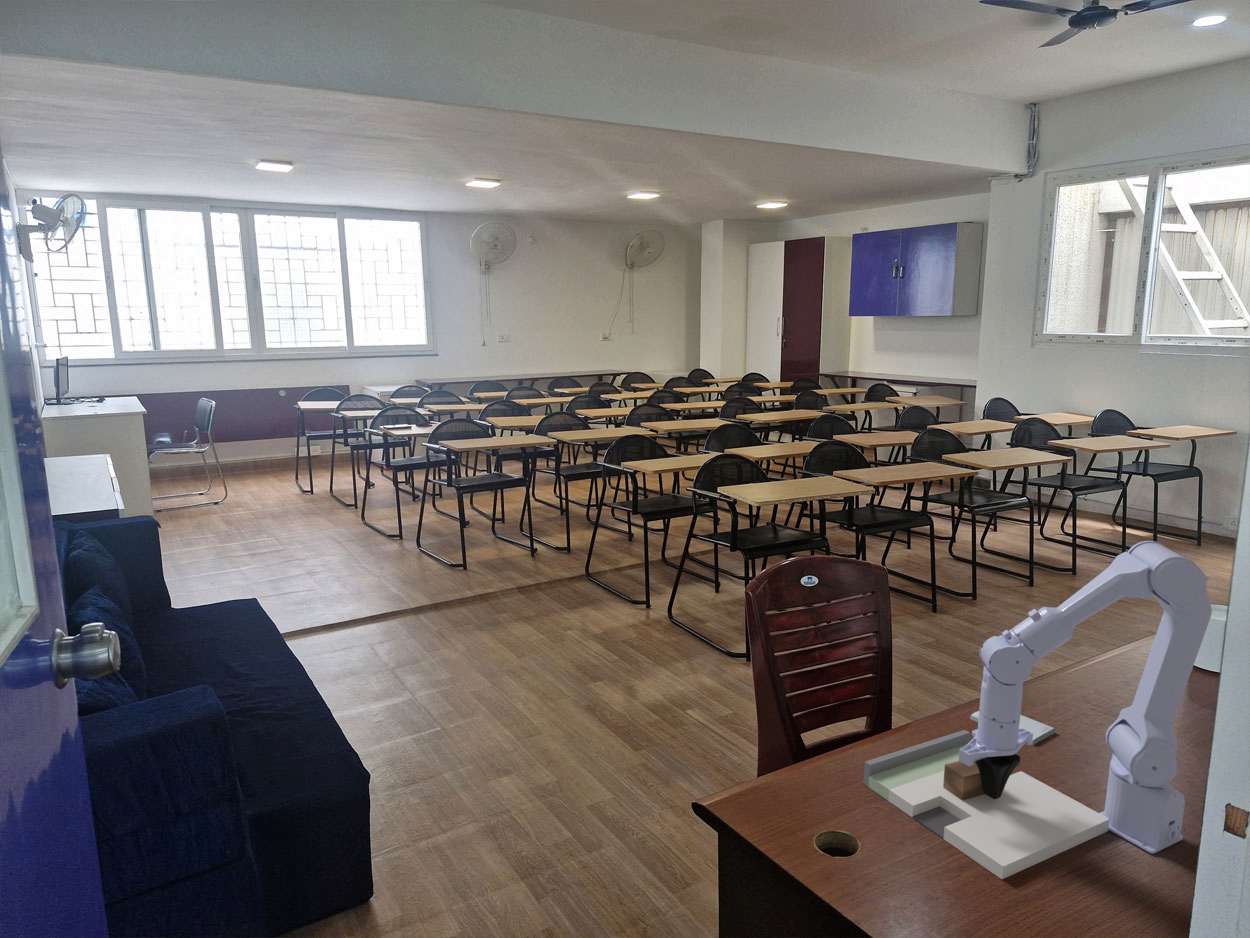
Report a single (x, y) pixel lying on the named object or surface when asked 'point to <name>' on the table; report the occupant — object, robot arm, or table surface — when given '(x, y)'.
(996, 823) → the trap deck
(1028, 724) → the hard drive
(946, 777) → the walnut bar
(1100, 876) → the table surface
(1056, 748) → the table surface
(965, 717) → the table surface
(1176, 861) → the table surface
